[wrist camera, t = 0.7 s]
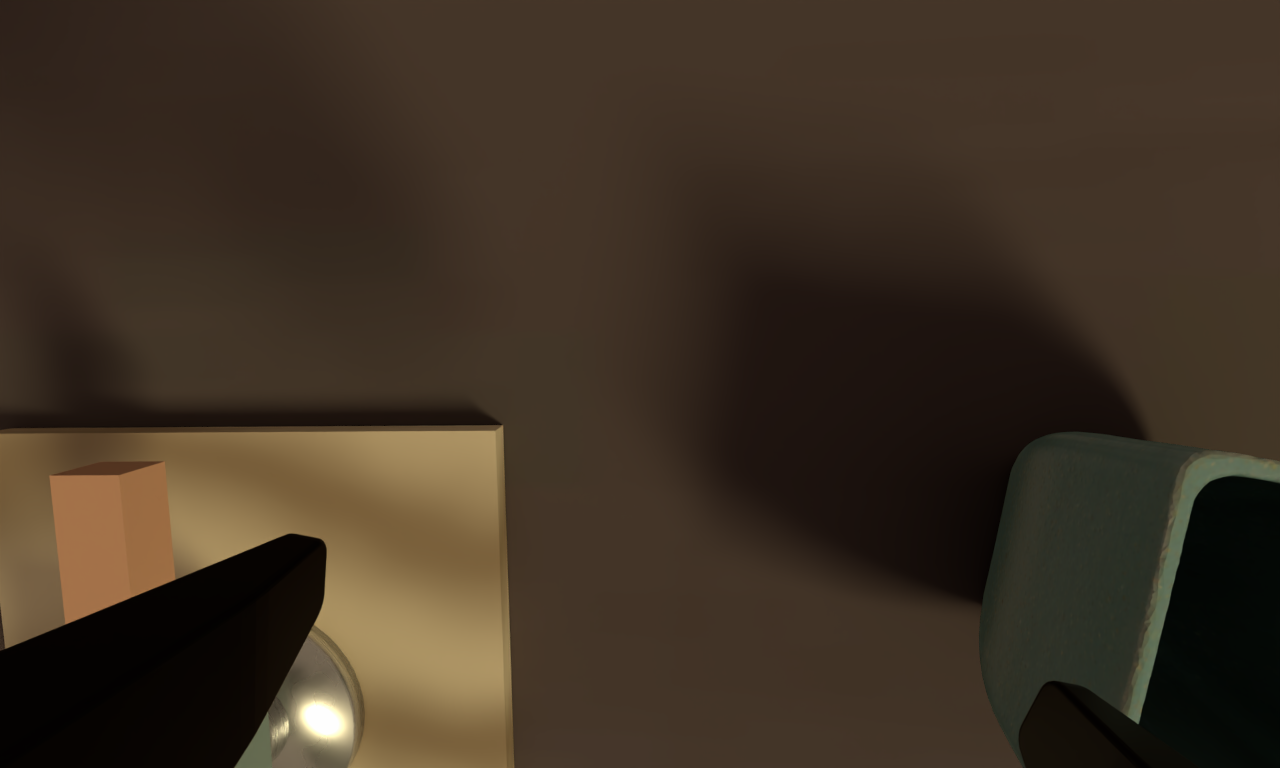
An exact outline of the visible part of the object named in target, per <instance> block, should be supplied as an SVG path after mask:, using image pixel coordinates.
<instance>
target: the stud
mask: <svg viewBox="0 0 1280 768" xmlns="http://www.w3.org/2000/svg"><path fill="white" fill-rule="evenodd" d="M268 717H269V730H270V744H271V757H272V768H349V767H350V765H351V764H352V762H353V760H354V758H355V756H356V754H357V752H358V750H359V746H360V743H361V740H362V736H363V730H364V723H365V709H364V701H363V695H362V691H361V687H360V684H359V681H358V679H357V676H356V674H355V671H354V669H353V667H352V666H351V664H350V662H349V660H348V659H347V657H346V656H345V655H344V653H343V652H342V651H341V649H340V648H339V647H338V645H337V644H336V643H335V642H334V641H333V640H332V639H331V638H330V637H329V636H328V635H326V634H325V633H324V632H323V631H321V630H320V629H319V628H318V627H316V626H315V625H313V627H312V629H311V631H310V633H309V635H308V637H307V639H306V641H305V643H304V644H303V646H302V648H301V650H300V652H299V654H298V656H297V658H296V660H295V662H294V663H293V665H292V667H291V669H290V671H289V673H288V675H287V677H286V679H285V681H284V683H283V684H282V686H281V688H280V690H279V692H278V694H277V696H276V698H275V700H274V702H273V703H272V705H271V707H270V709H269V711H268Z"/></svg>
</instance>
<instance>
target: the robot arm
mask: <svg viewBox="0 0 1280 768" xmlns="http://www.w3.org/2000/svg"><path fill="white" fill-rule="evenodd" d="M326 559H327V548H326V543H325V542H324V541H323V540H322V539H320V538H316V537H311V536H305V535H300V534H294V533H290V534H286V535H283V536H281V537H278V538H276V539H273V540H271V541H268V542H266V543H263V544H261V545H259V546H256V547H254V548H251V549H249V550H246V551H244V552H241V553H239V554H237V555H234V556H232V557H229V558H227V559H224V560H222V561H219V562H217V563H215V564H212V565H210V566H207V567H205V568H202V569H200V570H197V571H195V572H192V573H190V574H188V575H185V576H183V577H180V578H178V579H175V580H173V581H170V582H168V583H166V584H163V585H161V586H158V587H156V588H153V589H151V590H148V591H146V592H143V593H141V594H139V595H136V596H134V597H131V598H129V599H126V600H124V601H121V602H119V603H117V604H114V605H112V606H109V607H107V608H104V609H102V610H99V611H97V612H95V613H92V614H90V615H87V616H85V617H82V618H80V619H77V620H75V621H72V622H70V623H68V624H65V625H63V626H60V627H58V628H55V629H53V630H50V631H48V632H46V633H43V634H41V635H38V636H36V637H33V638H31V639H28V640H26V641H23V642H21V643H19V644H16V645H14V646H11V647H9V648H6V649H4V650H1V651H0V768H235V766H236V765H237V763H238V762H239V760H240V759H241V757H242V756H243V754H244V752H245V751H246V749H247V748H248V746H249V744H250V743H251V741H252V740H253V738H254V737H255V735H256V733H257V731H258V729H259V728H260V726H261V724H262V722H263V720H264V719H265V717H266V715H267V713H268V711H269V709H270V707H271V705H272V703H273V702H274V700H275V698H276V696H277V694H278V692H279V690H280V688H281V686H282V684H283V683H284V681H285V679H286V677H287V675H288V673H289V671H290V669H291V667H292V665H293V663H294V662H295V660H296V658H297V656H298V654H299V652H300V650H301V648H302V646H303V644H304V643H305V641H306V639H307V637H308V635H309V633H310V631H311V629H312V627H313V625H314V624H315V622H316V620H317V618H318V616H319V613H320V611H321V608H322V605H323V601H324V595H325V578H326ZM1018 741H1019V748H1020V752H1021V755H1022V758H1023V761H1024V764H1025V767H1026V768H1200V767H1198V766H1197V765H1195V764H1194V763H1193V762H1191V761H1190V760H1188V759H1187V758H1186V757H1184V756H1183V755H1181V754H1180V753H1178V752H1177V751H1176V750H1174V749H1173V748H1171V747H1170V746H1169V745H1167V744H1166V743H1164V742H1163V741H1161V740H1160V739H1159V738H1157V737H1156V736H1154V735H1153V734H1152V733H1150V732H1149V731H1147V730H1146V729H1144V728H1143V727H1142V726H1140V725H1139V724H1137V723H1136V722H1135V721H1133V720H1132V719H1130V718H1129V717H1127V716H1126V715H1125V714H1123V713H1122V712H1120V711H1119V710H1117V709H1116V708H1115V707H1113V706H1112V705H1110V704H1109V703H1108V702H1106V701H1105V700H1103V699H1102V698H1100V697H1099V696H1098V695H1096V694H1095V693H1093V692H1092V691H1091V690H1089V689H1087V688H1086V687H1083V686H1081V685H1076V684H1071V683H1066V682H1061V681H1048V682H1047V683H1045V684H1044V685H1043V686H1042V687H1041V689H1040V690H1039V692H1038V694H1037V696H1036V698H1035V700H1034V702H1033V703H1032V705H1031V707H1030V709H1029V711H1028V713H1027V715H1026V717H1025V719H1024V720H1023V722H1022V724H1021V726H1020V730H1019V736H1018Z"/></svg>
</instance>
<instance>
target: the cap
mask: <svg viewBox="0 0 1280 768" xmlns="http://www.w3.org/2000/svg"><path fill="white" fill-rule="evenodd" d="M49 477H50V486H51V495H52V505H53V514H54V523H55V533H56V542H57V551H58V560H59V570H60V579H61V588H62V598H63V607H64V616H65V624H68V623H70V622H72V621H75V620H77V619H80V618H82V617H85V616H87V615H90V614H92V613H95V612H97V611H99V610H102V609H104V608H107V607H109V606H112V605H114V604H117V603H119V602H121V601H124V600H126V599H129V598H131V597H134V596H136V595H139V594H141V593H143V592H146V591H148V590H151V589H153V588H156V587H158V586H161V585H163V584H166V583H168V582H170V581H173V580H175V570H174V559H173V548H172V536H171V525H170V514H169V503H168V491H167V480H166V469H165V461H139V462H98V463H94V464H91V465H87V466H83V467H79V468H76V469H72V470H68V471H65V472H61V473H57V474H53V475H50V476H49ZM235 768H272V757H271V744H270V730H269V717H268V713H267V715H266V717H265V719H264V720H263V722H262V724H261V726H260V728H259V729H258V731H257V733H256V735H255V737H254V738H253V740H252V741H251V743H250V744H249V746H248V748H247V749H246V751H245V752H244V754H243V756H242V757H241V759H240V760H239V762H238V763H237V765H236V766H235Z"/></svg>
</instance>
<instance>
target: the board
mask: <svg viewBox="0 0 1280 768" xmlns="http://www.w3.org/2000/svg"><path fill="white" fill-rule="evenodd" d="M139 461H165V469H166V480H167V491H168V503H169V514H170V525H171V536H172V548H173V559H174V570H175V579H178V578H180V577H183V576H185V575H188V574H190V573H192V572H195V571H197V570H200V569H202V568H205V567H207V566H210V565H212V564H215V563H217V562H219V561H222V560H224V559H227V558H229V557H232V556H234V555H237V554H239V553H241V552H244V551H246V550H249V549H251V548H254V547H256V546H259V545H261V544H263V543H266V542H268V541H271V540H273V539H276V538H278V537H281V536H283V535H286V534H290V533H294V534H300V535H305V536H311V537H316V538H320V539H322V540H323V541H324V542H325V543H326V548H327V559H326V578H325V595H324V601H323V605H322V608H321V611H320V613H319V616H318V618H317V620H316V622H315V624H314V625H315V626H316V627H318V628H319V629H320V630H321V631H323V632H324V633H325V634H326V635H328V636H329V637H330V638H331V639H332V640H333V641H334V642H335V643H336V644H337V645H338V647H339V648H340V649H341V651H342V652H343V653H344V655H345V656H346V657H347V659H348V660H349V662H350V664H351V666H352V667H353V669H354V671H355V674H356V676H357V679H358V681H359V684H360V687H361V691H362V695H363V701H364V709H365V723H364V730H363V736H362V740H361V743H360V746H359V750H358V752H357V754H356V756H355V758H354V760H353V762H352V764H351V765H350V767H349V768H514V747H513V716H512V686H511V655H510V624H509V594H508V563H507V533H506V502H505V472H504V441H503V425H447V426H285V427H123V428H10V429H4V430H0V607H1V615H2V624H3V632H4V641H5V649H6V648H9V647H11V646H14V645H16V644H19V643H21V642H23V641H26V640H28V639H31V638H33V637H36V636H38V635H41V634H43V633H46V632H48V631H50V630H53V629H55V628H58V627H60V626H63V625H65V616H64V607H63V598H62V588H61V579H60V570H59V560H58V551H57V542H56V533H55V523H54V514H53V505H52V495H51V486H50V477H49V476H50V475H53V474H57V473H61V472H65V471H68V470H72V469H76V468H79V467H83V466H87V465H91V464H94V463H98V462H139Z"/></svg>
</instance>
